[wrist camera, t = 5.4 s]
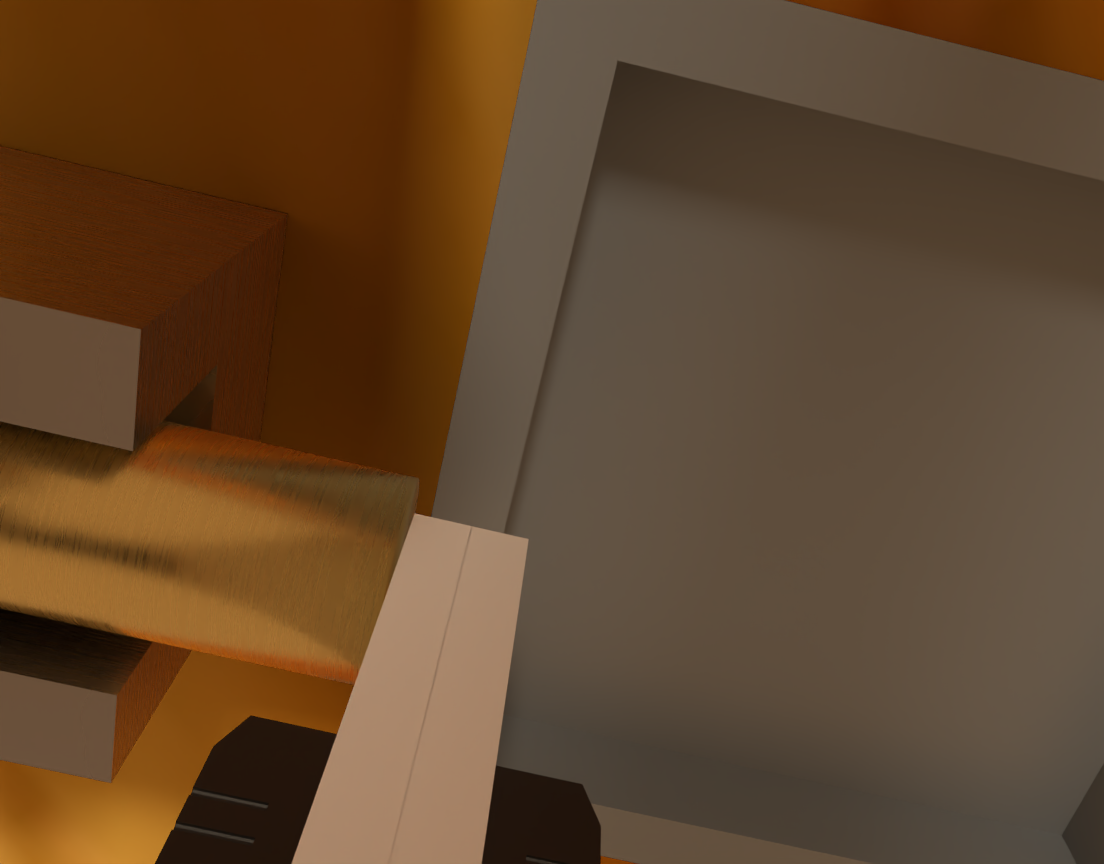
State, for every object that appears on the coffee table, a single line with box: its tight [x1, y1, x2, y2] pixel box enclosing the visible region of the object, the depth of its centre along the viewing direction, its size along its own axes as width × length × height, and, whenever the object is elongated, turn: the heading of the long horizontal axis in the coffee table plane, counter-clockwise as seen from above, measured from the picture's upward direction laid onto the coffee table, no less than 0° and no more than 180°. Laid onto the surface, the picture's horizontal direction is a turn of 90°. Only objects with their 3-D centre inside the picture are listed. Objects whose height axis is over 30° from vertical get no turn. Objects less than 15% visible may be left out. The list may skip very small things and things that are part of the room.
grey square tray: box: [431, 0, 1104, 864], centre depth 18 cm, size 15×15×2 cm
